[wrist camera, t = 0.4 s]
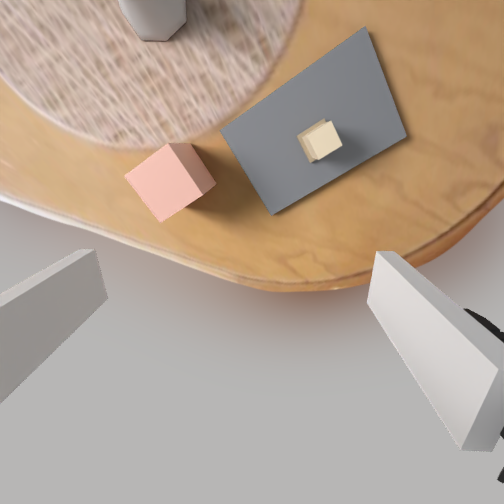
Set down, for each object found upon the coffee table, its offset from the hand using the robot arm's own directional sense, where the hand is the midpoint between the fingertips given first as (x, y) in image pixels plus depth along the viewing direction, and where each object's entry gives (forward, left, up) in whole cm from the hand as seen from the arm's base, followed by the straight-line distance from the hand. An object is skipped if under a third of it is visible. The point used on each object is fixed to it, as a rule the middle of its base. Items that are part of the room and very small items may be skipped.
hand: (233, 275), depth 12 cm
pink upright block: (-6, -7, -24) cm, 25 cm away
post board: (-2, +9, -24) cm, 26 cm away
